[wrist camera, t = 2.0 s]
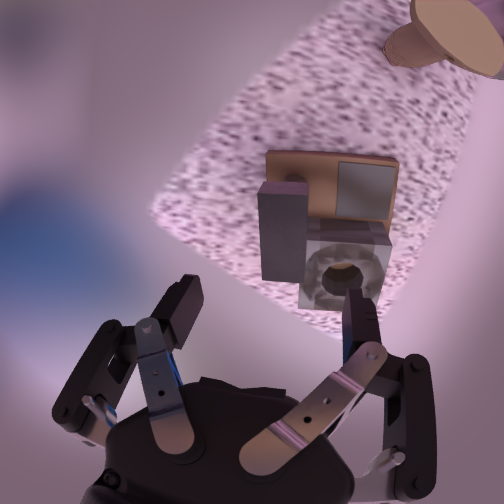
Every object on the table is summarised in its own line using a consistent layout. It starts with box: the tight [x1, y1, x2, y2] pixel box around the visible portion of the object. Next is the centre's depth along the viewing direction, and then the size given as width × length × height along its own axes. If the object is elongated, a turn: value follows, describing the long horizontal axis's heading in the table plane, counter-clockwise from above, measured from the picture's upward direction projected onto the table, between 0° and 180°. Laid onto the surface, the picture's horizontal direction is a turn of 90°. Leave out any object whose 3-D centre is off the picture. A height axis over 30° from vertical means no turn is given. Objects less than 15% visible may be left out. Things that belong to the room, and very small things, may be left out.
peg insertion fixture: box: [265, 150, 399, 312], centre depth 28 cm, size 16×14×7 cm
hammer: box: [257, 174, 309, 283], centre depth 23 cm, size 7×3×11 cm, turn 4°
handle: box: [383, 0, 504, 76], centre depth 13 cm, size 5×6×15 cm
